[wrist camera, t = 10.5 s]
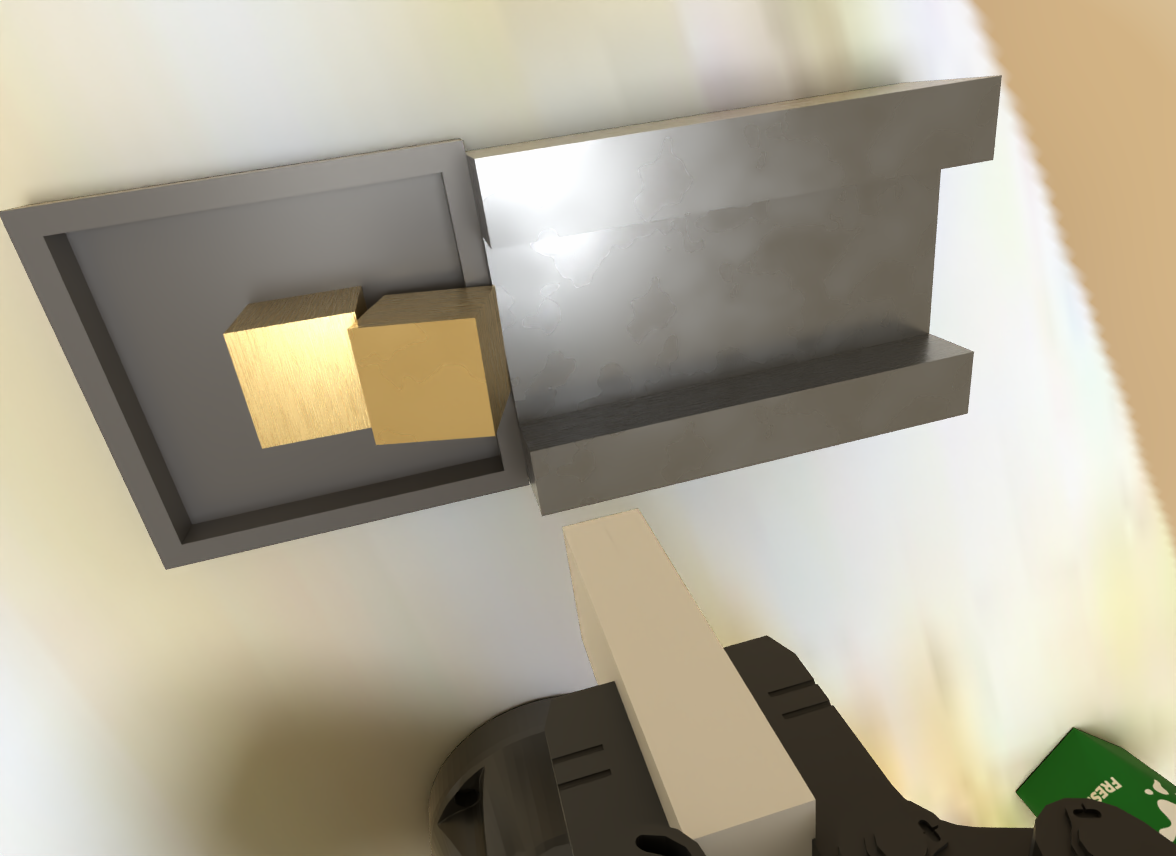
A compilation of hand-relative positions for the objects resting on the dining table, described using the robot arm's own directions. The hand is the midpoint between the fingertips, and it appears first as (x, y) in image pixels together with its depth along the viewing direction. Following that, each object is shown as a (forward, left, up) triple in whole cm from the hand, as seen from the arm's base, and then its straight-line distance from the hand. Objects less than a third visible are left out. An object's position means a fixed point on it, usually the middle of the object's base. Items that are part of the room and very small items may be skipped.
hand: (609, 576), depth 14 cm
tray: (-8, 0, -20) cm, 22 cm away
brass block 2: (-2, 0, -18) cm, 18 cm away
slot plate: (+10, 0, -20) cm, 23 cm away
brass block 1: (-5, 0, -17) cm, 18 cm away
